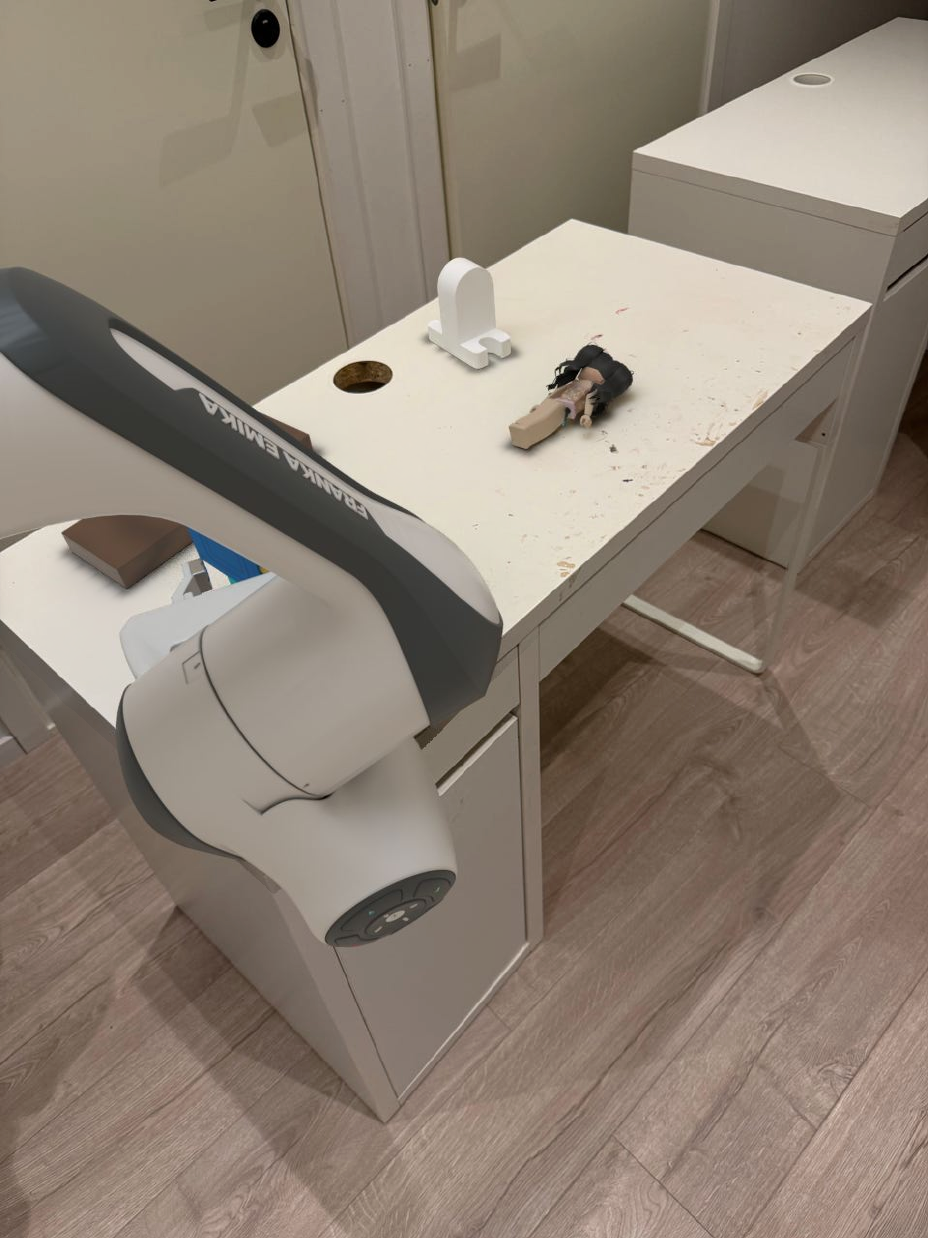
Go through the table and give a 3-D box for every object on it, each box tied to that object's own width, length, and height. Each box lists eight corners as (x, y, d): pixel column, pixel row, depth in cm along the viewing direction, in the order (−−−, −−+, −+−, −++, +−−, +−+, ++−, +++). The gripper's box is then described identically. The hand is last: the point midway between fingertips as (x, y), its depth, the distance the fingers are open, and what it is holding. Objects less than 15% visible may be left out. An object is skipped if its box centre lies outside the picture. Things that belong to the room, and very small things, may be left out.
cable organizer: (477, 370, 100) (470, 286, 93) (427, 338, 106) (416, 256, 99) (513, 352, 102) (509, 268, 95) (462, 322, 108) (454, 241, 101)
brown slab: (126, 589, 80) (116, 569, 78) (71, 552, 85) (60, 532, 83) (314, 454, 92) (309, 434, 90) (257, 427, 96) (251, 407, 95)
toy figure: (563, 467, 87) (642, 388, 94) (554, 413, 83) (638, 334, 90) (506, 452, 91) (586, 377, 98) (495, 399, 87) (579, 325, 94)
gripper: (467, 593, 53) (393, 467, 62) (124, 711, 49) (99, 558, 58) (474, 661, 57) (405, 534, 66) (162, 774, 53) (133, 623, 62)
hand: (260, 546), depth 62 cm, fingers open, 8 cm apart
